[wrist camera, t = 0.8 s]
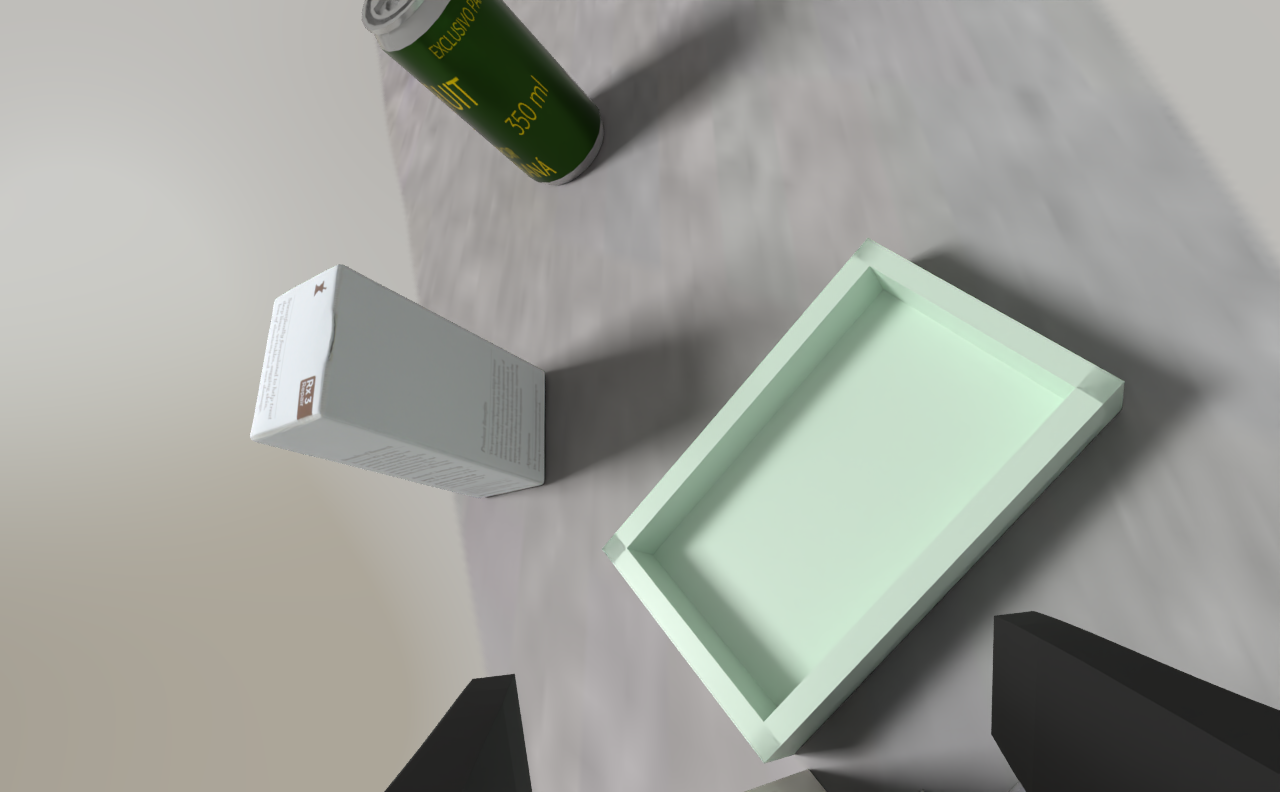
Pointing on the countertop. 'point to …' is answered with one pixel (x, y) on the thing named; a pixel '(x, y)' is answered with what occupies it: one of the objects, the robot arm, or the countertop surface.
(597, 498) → the countertop surface
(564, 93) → the beer can
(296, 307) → the skincare box
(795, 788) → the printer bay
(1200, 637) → the countertop surface
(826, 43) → the countertop surface
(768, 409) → the tray
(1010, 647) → the robot arm
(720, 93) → the countertop surface
